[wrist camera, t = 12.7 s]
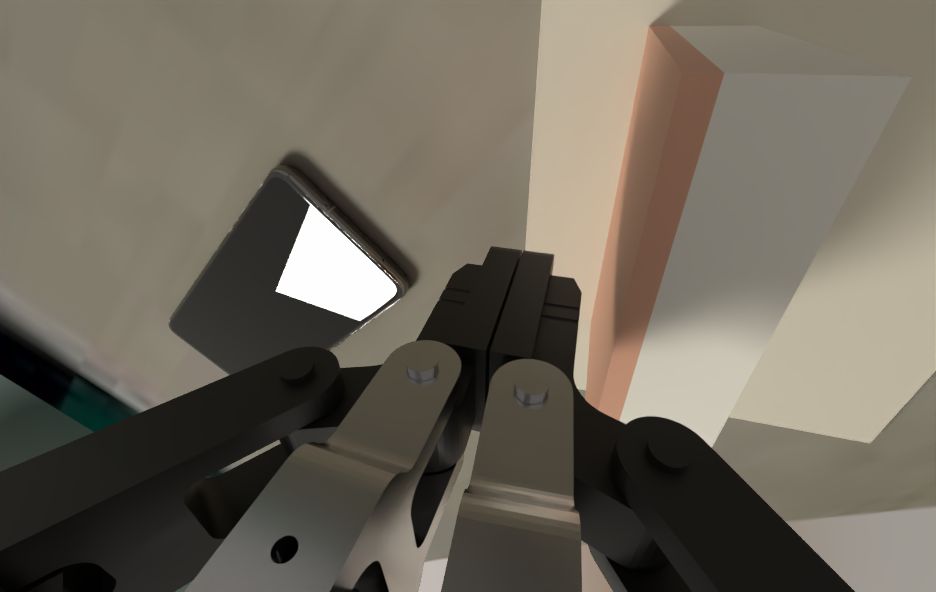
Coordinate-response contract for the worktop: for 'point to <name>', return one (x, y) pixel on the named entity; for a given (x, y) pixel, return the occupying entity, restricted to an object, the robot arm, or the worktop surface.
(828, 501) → the worktop surface
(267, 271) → the smartphone
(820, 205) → the block
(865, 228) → the mat
